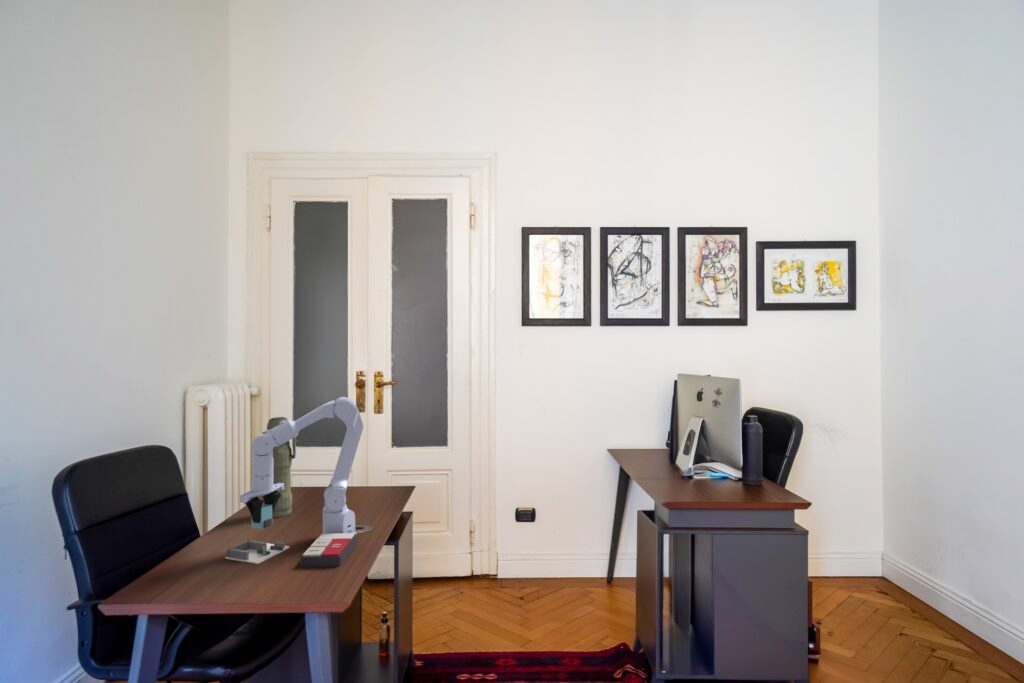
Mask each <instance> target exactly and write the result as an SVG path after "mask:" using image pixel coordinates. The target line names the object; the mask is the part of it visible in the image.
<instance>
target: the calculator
mask: <svg viewBox="0 0 1024 683" xmlns="http://www.w3.org/2000/svg"><path fill="white" fill-rule="evenodd" d="M357 535H358V533H357V534H355V533H335V534H323V533H322V534H320V535H319V536H317V537H316V539H315V540H314V542H313V543H312V544H310V546H309V547H308V548H307V549H306V550H305V551H304V553H302V555H301V556H300V557H299V558H300V567H301V568H305V567H306V568H309V567H310V568H313V567H319V568H320V567H341V566H342V564H344V562H345V560H346V559H347V558H348V557H349V555H350V553H351V552H352V551H354V549H355V548H356V547H357V545H358V542H357V539H358V538H357V537H358V536H357Z"/></svg>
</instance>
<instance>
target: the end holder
mask: <svg viewBox="0 0 1024 683" xmlns="http://www.w3.org/2000/svg"><path fill="white" fill-rule="evenodd" d="M267 543H268V542H264V541H257V540H251V539H250V540H249V539H248V540H245V541H243V542H241V543H239V544H236V545H234V546H232V547H230V548H227V553H226V554H227V556H226V557H230V558H236V559H242V560H248V559H249V551H245V550H247V549H253V550H262V546H265V548H266V550H267Z"/></svg>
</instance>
